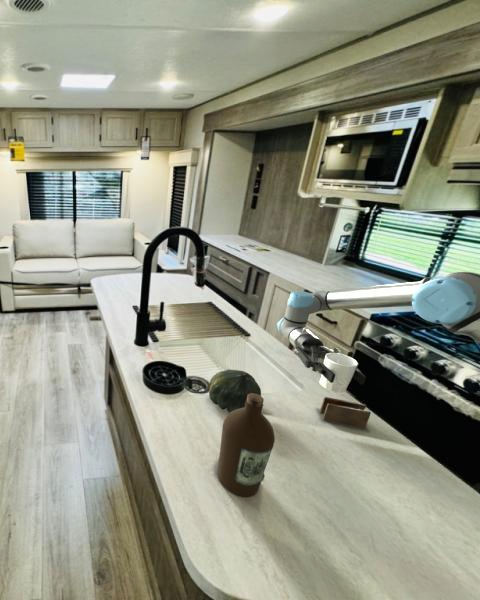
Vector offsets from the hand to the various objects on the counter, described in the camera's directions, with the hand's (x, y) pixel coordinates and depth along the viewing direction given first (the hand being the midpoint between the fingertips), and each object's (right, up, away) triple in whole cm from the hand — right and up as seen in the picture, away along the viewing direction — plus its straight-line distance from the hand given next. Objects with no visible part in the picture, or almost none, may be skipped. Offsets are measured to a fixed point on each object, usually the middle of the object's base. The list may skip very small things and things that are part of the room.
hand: (348, 379), depth 93 cm
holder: (-2, -14, +1) cm, 14 cm away
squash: (-31, -11, +9) cm, 34 cm away
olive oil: (-41, -21, -16) cm, 49 cm away
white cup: (+1, -4, +7) cm, 8 cm away
